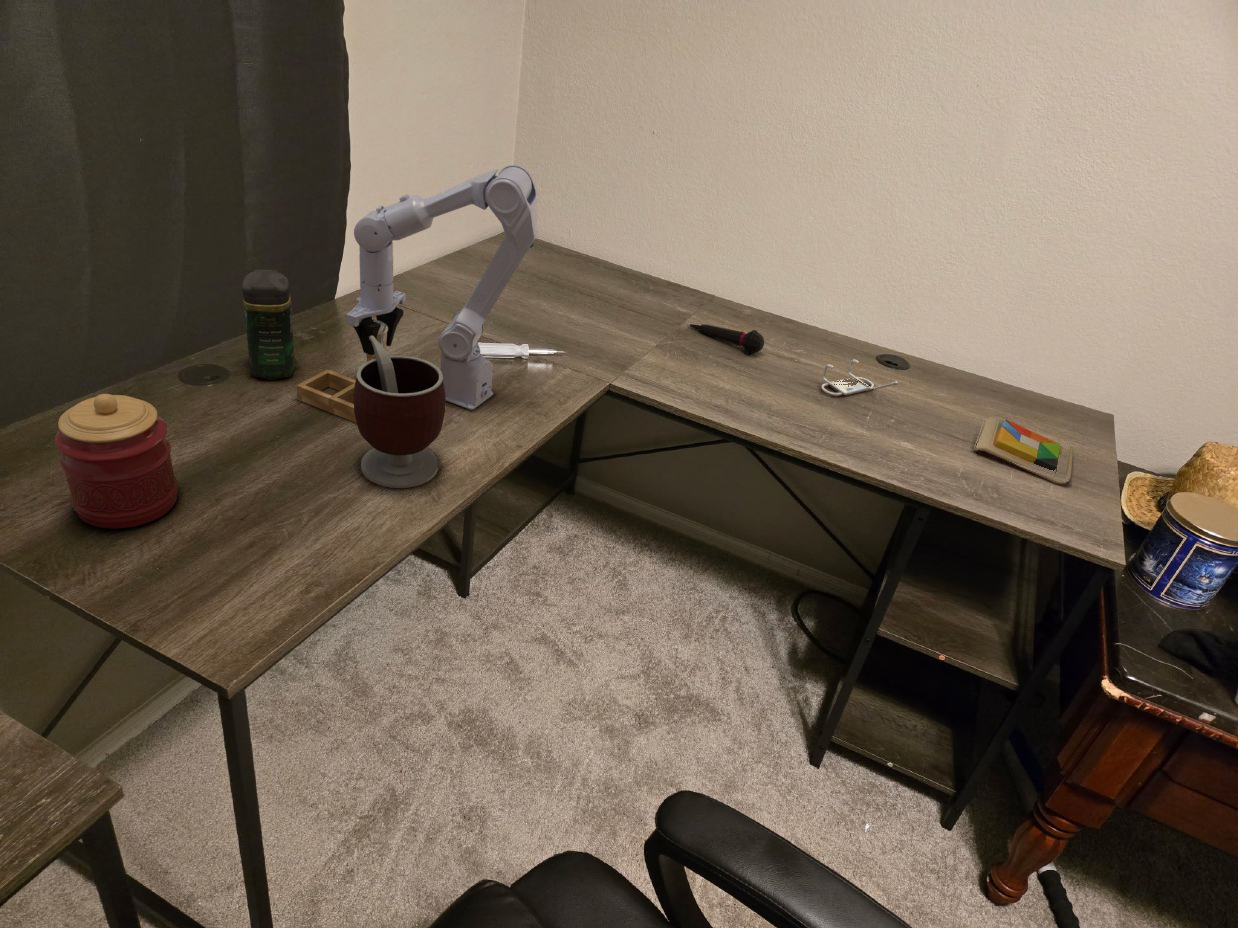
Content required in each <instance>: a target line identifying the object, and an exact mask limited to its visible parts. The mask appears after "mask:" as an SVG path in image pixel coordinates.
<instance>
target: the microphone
mask: <svg viewBox="0 0 1238 928" xmlns="http://www.w3.org/2000/svg"><path fill="white" fill-rule="evenodd" d="M689 327H691V328H692V329H695V330H697V331H699V332H700V333H702V334H703V335H706V336H709V337H711V338H715V339H717V340H720V341H722V342H723V341H724V342H727V343H729V344H732V345H735V346H738V347H742V348H743V349H744V351H745V352H746V353H747V355H748V354H749V355H751V354H757V353H759V352H761V351H762V350H763V348H764V347H765V339H764V336H763V335H762V334H761V333H760V332H759V331H758V330H756V329H753V330H750V331H748V332H747V333H746V332H744V331H740V330H735V329H730V328H726V327H721V326H715V325H711V324H702V323H701V324H695V323H693V324H692V323H690V324H689Z"/></svg>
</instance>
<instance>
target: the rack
mask: <svg viewBox="0 0 1238 928" xmlns="http://www.w3.org/2000/svg"><path fill="white" fill-rule="evenodd" d="M355 381H356V379H355V378H351V377H349V376H346V375H343V374H341V373H338V372H335V371H333V370H330V369H325V370H323V371H321V372H319V373H317V374H316V375H314V376H312V377H310V378H307V379H306V380H304V381H302V382H300V383H298V384H296V397H297V398H296V399H297V401H299V402H302V403H305V404H307V405H309V406H313V407H315V408H318V409H319V410H323V411H325V412H328V413H330V414H332V415H335V416H338V417H340V418H343V419H345V420H347V421H350V422H352V423H356V418H355V414H354V387H355ZM327 388H330V389H333V390H336V391H338V392H336V393H334V394H333V395H331V394H329V393H326V392H324V390H326V389H327ZM356 424H357V423H356Z"/></svg>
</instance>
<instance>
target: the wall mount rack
mask: <svg viewBox="0 0 1238 928" xmlns="http://www.w3.org/2000/svg"><path fill="white" fill-rule="evenodd" d="M859 362H860V361H859V360H857V359H851V360H850V363H849V366H848V369H847V374H848V376H850V375H851V376H853V377H854V378H853V377H852V378H853V379H855V378H856V379H857V380H856V379H855V380H856V381H858V380H859V381H861V382H862V383H864V384H866V386H865V385H864V384H862V383H861V382H859V381H858V383H857V384H856V385H853V386H851V385H849V387H848V385H843V384H848V383H851V382H842V381H843V380H844V379H845V378H843V379H838V380H837V381H839V380H840V381H841V382H840V381H839V382H834V381H835V380H832V381H829V380H828V379H827V378H826V374H827V371H828V368H829V369H830V370H832V369H834V365H832V364H826V365H825V366H824V369H823V372H822V376H821V378H822V380H823V381H824V382H825V383H823V384H821V386H820V388H821V390H822V391H823V392H824V393H826V394H828V395H831V396H837V397H838V396H851V395H854V394H858V393H862V392H869V391H875V390H879V389H884V388H887V387H895V386H898V384H899V382H898V381H892V382H890V383H886V384H881V385H878V386H875V385H874V384H875V383H873V382H872V381H871V380H870V379H867V378H865V377H860V376H855V375H854V374H852V372H851V369H852V367H853V364H859ZM851 376H850V377H849V378H846V379H847V380H848V379H850V378H851ZM844 381H845V380H844ZM866 382H867V383H868V384H867V383H866ZM852 383H853V382H852ZM834 384H835V385H834ZM836 384H837V385H836ZM839 384H840V385H839ZM841 384H842V385H841ZM869 384H870V385H869ZM827 386H829V387H830V388H831V389H833V390H834V391H835V392H832V391H829V390H828V389H826V388H825V387H827ZM867 386H869V387H867ZM872 389H873V390H872Z"/></svg>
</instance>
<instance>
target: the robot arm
mask: <svg viewBox="0 0 1238 928" xmlns="http://www.w3.org/2000/svg"><path fill="white" fill-rule="evenodd" d="M497 173H498V175H496V174H497ZM398 199H399V201H397V202H394V203H392V204H390V205H388V206H384V205H380V206H378V207H376V209H375V210H372V211H369V212H368V213H367V214H366V215H365V216H364V217H362V218H361V219H360V220H359V221H357V223H356V224H355V225H354V228H353V237H354V239H355V241H356V243H357V244H358V246H359V257H358V258H359V291H360V294H359V295H360V296H359V297H357V298H356V305H355V306H354V307H353V308H352V309H351V310H350V311H349V312H347V313H346V314H345V318H346V319H345V320H346V324H347V325H349V326H351V327H352V328H353V329H354V330H355V332H356V334H357V336H358V339H359V341H360V345H361V348H362V351H363V353H364V354H366V353H367V354H369V355H374V354H375V352H374V348H373V345H372V342H371V341H370V340H369V337H370V336H374V337H375V339H376V340H377V335H378V331H379V329H380V326H381V324H379V323H376V322H374V320H378V321H381V322H383V323H385V324H387V326H388V334H387V344H386V347H391V346H392V343H393V340H394V336H395V333H396V330H397V328H398V325H399V323H400V321H401V319H402V318H403V317H404V309H402V308H399V307H398V305H404V304H406V301H407V300H406V299H407V297H406V293H405V292H402V291H399V290H395V291H394V243H393V241H401V240H403V239H406V238H408V237H410V236H413V235H416V234H418V233H421V232H423V231H425V230H428V229H430V228H431V227H432V224H433V221H434V218H436V217H439V216H442V215H445V214H448V213H450V212H454V211H456V210H459V209H462V208H465V207H467V206H470V205H474V206H476V207H477V208H479V209H481V210H484V211H485V210H487V209H488V208H489V209H490V211H491V212H492V213H493V215H494V216H495V217H496V218H497V220H498V221H499V222H500V224H501V226H502V229H503V232H504V234H505V236H504V238H503V240H502V242H501V243H500V245H499V246H498V248H497V249H496V251H495V253H494V255H493V257H492V258H491V260H490V262H489V263H488V265H487V267H486V268H485V270H484V272H483V273H482V275H481V277H480V278H479V281H478V282H477V284H476V286H475V287H474V289H473V290H472V292H471V294H470V296H469V297H468V299H467V300H466V302H465V304H464V306H463V307H462V309H461V310H459V311H457V312H456V313H454V314H453V316H452V317H451V320H450V322H449V323H448V325H447V326H446V328H445V329H444V330H443V331H442V332H441V333H440V335H439V336H438V339H437V340H438V341H437V342H438V348H439V350H440V368H439V369H440V370H441V372H442V375H443V383H444V388H445V396H446V402H449V403H451V404H454V405H457V406H459V407H462V408H464V409H466V410H470V411H473V410H475V409H476V408H477V407H479V406H480V405H481V404H483V403H484V402H485V401H486V400H488V399H489V398H491V397H492V396H494V391H492V390H493V388H492V387H493V376H494V365H493V363H492V361H490V360H489V359H487V358H485V357H484V356H483V355H482V353H481V348H480V345H479V343H478V341H479V339H480V338H481V337H482V336H483V333H484V325H485V321H486V320H487V318H488V316H489V314H490V313H491V311H492V310H493V308H494V307H495V305H496V303H497V301H499V299H500V297H501V295H502V294H503V292H504V290H505V289H506V287H507V286H508V284H509V282H510V281H511V279H512V277H513V275H514V274H515V272H516V271H517V269H518V268H519V266H520V264H521V262H522V261H523V260H524V258H525V256H526V255H527V254H528V251H529V249H530V248H531V246H532V245H533V243H534V241H535V240H536V238H537V236H538V212H537V211H538V209H537V208H538V207H537V201H538V190H537V187H536V185H535V183H534V180H533V177H532V175H531V174H530V172H529V170H527V169H526V168H524V167H523V166H520V165H517V164H510V165H507V166H505V167H503V168H502V169H501V170H500V171H499V169H493V170H490V171H487V172H484V173H482V174H479V175H476V176H473V177H470V178H469V179H467V180H465V181H462V182H460V183H458V184H456V185H454V186H452V187H449V188H447V189H445V190H443V191H440V192H439V193H437V194H435V195H432V196H430V197H428V198H425V197H422V196H420V195H417V194H414V195H412V196H410V195H409V194H408V193H406V194H404V195H402V196H400V197H399V198H398ZM373 317H375V319H373Z"/></svg>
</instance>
